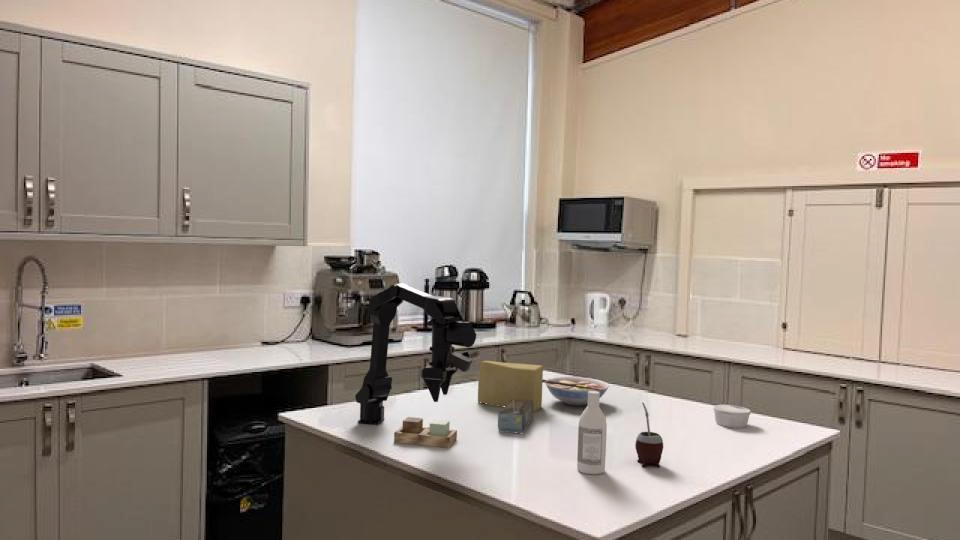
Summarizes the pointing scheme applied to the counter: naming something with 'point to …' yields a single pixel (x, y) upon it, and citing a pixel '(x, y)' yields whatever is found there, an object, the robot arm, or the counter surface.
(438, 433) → the sage cube
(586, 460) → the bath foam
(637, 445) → the mate gourd
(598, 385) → the ramen bowl
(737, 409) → the ramekin
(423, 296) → the robot arm
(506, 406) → the beverage carton
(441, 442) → the box
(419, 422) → the walnut cube
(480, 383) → the cheese
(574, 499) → the counter surface
